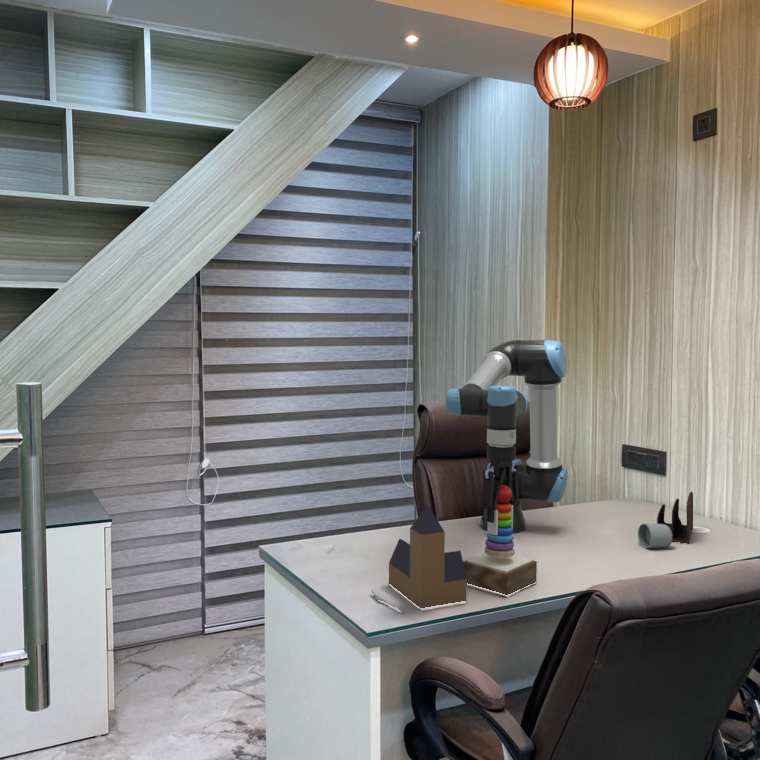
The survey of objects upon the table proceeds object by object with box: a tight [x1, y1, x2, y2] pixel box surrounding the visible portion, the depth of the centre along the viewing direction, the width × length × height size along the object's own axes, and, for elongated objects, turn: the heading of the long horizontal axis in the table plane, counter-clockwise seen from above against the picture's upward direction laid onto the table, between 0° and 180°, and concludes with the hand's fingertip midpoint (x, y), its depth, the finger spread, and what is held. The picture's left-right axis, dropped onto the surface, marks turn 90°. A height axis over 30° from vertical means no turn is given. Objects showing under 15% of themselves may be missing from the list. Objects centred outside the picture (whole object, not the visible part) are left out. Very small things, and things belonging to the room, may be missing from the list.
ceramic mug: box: [637, 522, 673, 549], centre depth 224 cm, size 11×8×8 cm
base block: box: [463, 552, 538, 595], centre depth 189 cm, size 14×14×6 cm
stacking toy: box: [484, 485, 516, 558], centre depth 188 cm, size 8×8×19 cm
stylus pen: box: [370, 589, 397, 607], centre depth 175 cm, size 15×3×2 cm, turn 31°
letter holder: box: [656, 491, 694, 545], centre depth 236 cm, size 10×20×14 cm, turn 153°
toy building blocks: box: [388, 504, 467, 608], centre depth 181 cm, size 12×19×25 cm, turn 24°
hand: (500, 531), depth 189 cm, fingers closed on stacking toy, 6 cm apart
